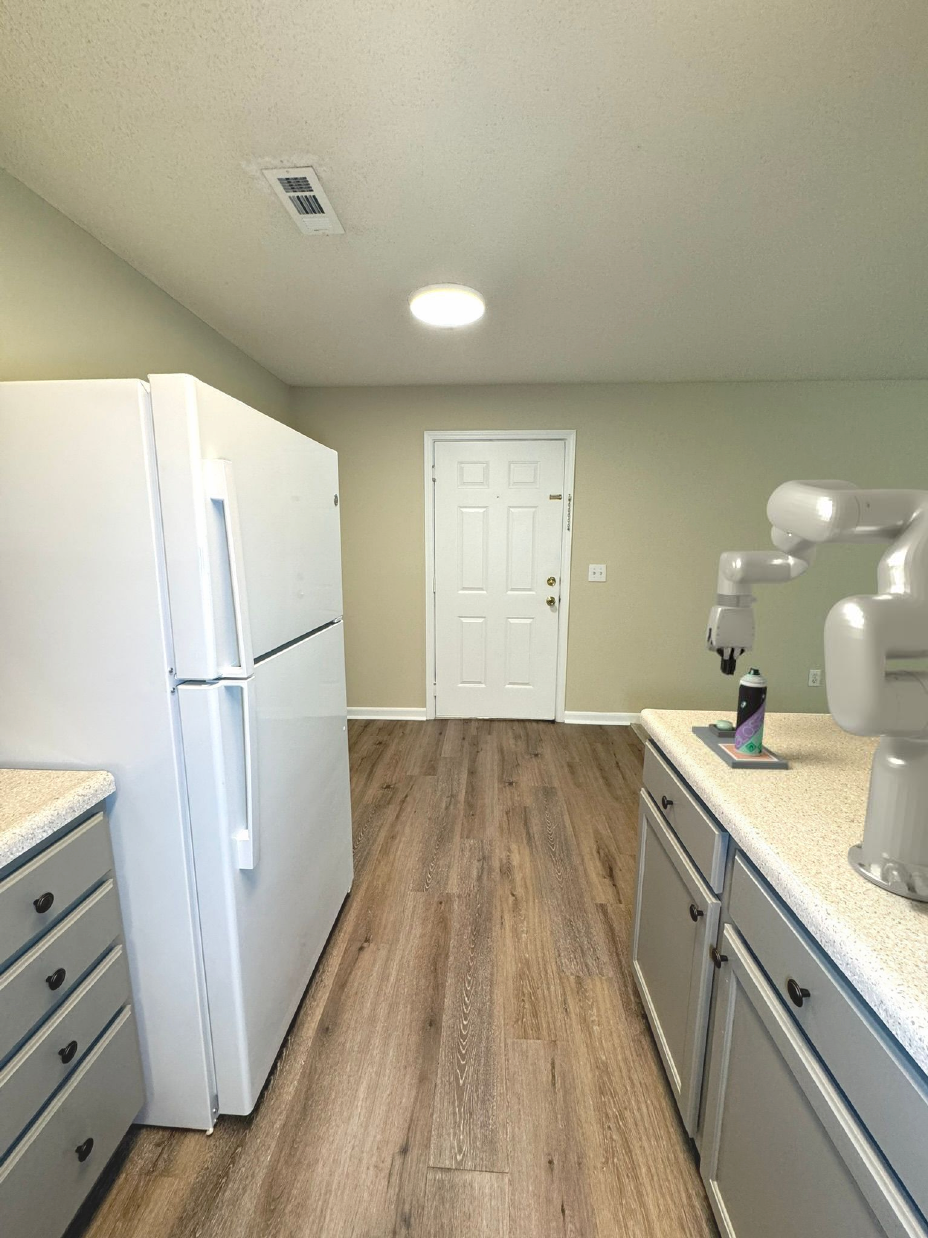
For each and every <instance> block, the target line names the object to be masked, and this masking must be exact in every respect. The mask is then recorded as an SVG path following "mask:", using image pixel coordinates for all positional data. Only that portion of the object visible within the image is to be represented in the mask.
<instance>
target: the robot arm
mask: <svg viewBox="0 0 928 1238" xmlns="http://www.w3.org/2000/svg"><path fill="white" fill-rule="evenodd" d="M766 516H767V518H768V520H769V522H770V523H771V525H772V527H771V531H770V537H771V541H772V543H773V544H774V546H775V547H776V548H777V549H778V550H740V551H739V550H732V551H731V550H729V551H728V550H727V551H723V552H722V553H721V554H720V556H719V562H718V563H719V564H718V574H717V575H718V577H717V587H716V588H717V589H716V590H717V591H716V601H715V605H713V606H712V607H711V610H710V613H709V617H708V620H707V621H708V622H707V627H706V635H705V642H706V643H707V645H706V649H707V650H708V651H710V652H712V653H713V652H714V653H717V655H718V656H719V657H720V669H719V670H720V671H721V673H722V674H724V675H725V676H735V671H736V668H737V660H739V659H740V656H742V655H743V654H744V653H748V652H752V651H753V649H754V648H753V645H754V643H755V637H756V636H755V635H756V624H755V623H756V620H755V613H754V611H755V610H754V607H752V605H753V603H756V602H757V597H756V596H753V585H757V584H759V585H761V584H762V585H766V584H767V585H780V584H786V583H789V582H793V581H794V580H795V579H796V580H797V579H798V578H799V577H801V576H802V575H804V574H805V573H806V572H807V571H809V570H810V569H811V567H812V566H813V564H814V561H815V559H816V555H817V547H818V546H819V545H820V544H821V545H828V546H829V545H832V546H833V545H834V546H838V545H839V546H840V545H844V546H845V545H878V544H879V545H882V544H883V545H889V546H888V548H887V549H886V550H885V551H884V554H883V555H882V557H881V558H880V560H879V562H878V565H877V570H876V576H877V594H876V593H875V594H869V593H868V594H856V595H852V596H851V595H849V596H847V597H844V598H842V599H840V600H839V601H838V602H836V603H835V604H834V605H833V606H832V607H831V609H830V610H829V612H828V614H827V617H826V619H825V621H824V625H823V626H824V627H823V652H824V668H825V671H824V672H825V689H826V700H827V705H828V706H827V707H828V710H829V713H830V715H831V716H830V717H831V718H832V719H833V721H834V723H835V725H837V726H838V727H839V728H840V729H841V730H842V731H844V732H845V733H847V734H850V735H851V736H856V737H862V738H863V737H864V738H865V737H867V738H881V739H880V740H879V742H878V743H877V746H876V748H875V750H874V752H873V757H872V761H871V762H872V763H871V764H872V765H871V771H870V779H869V785H868V794H867V802H866V809H865V810H866V811H865V819H864V826H863V835H862V842H860V843H857V844H853V845H851V846H850V847H849V849H848V851H847V861H848V863H849V865H850V866H851V867H852V868H853V870H854V871H856V873H858V874H859V875H861V876H862V877H863V878H864V879H866V880H868V882H870V883H873V884H874V885H875V886H878V887H879V888H881V889H884V890H887V892H888V891H889V892H891V893H894V894H896V895H899V896H902V897H905V898H908V899H912V900H916V901H921V902H926V903H928V669H925V668H924V669H923V668H922V669H916V668H915V669H912V668H911V669H909V668H908V669H904V668H903V669H902V668H901V669H886V663H887V661H919V660H921V661H922V660H928V490H925V489H911V488H897V489H896V488H880V489H879V488H877V489H861V488H860V487H859V486H858V485H856V483H855V484H854V483H853V482H850V481H848V480H843V479H792V480H789V481H786V482H783V483H782V484H781V485H779V486H778V487H777V488H776V489H774V490H773V491H772V493H771V495H770V496H769V499H768V501H767V504H766ZM729 648H730V649H729Z"/></svg>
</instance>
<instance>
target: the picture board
mask: <svg viewBox="0 0 928 1238" xmlns="http://www.w3.org/2000/svg"><path fill="white" fill-rule="evenodd" d="M716 727H717V723H709V724H708V726H700V725H699V726H698V725H697V726H696V725H695V726H694V725H693V726H691V733H692V734H694V735H695V734H696V735H695V736H696V737H697V738H698V737H699V738H698V739H699V740H700V739H701V740H702V741H703V742H704V745H706V746H707V748H709V749H710V751H712V752H713V753H714V752H715V753H714V754H715V755H717V757H719V758H720V759H721V760H722V761H723V762H724V763H725V764H726V765H727V766H728V767H729V768H731V769H734V770H735V769H737V770H738V769H739V770H740V769H741V770H743V769H747V770H749V769H750V770H788V763H789V762H787V761H786V760H784V759H783V758H782V757H780V756H779V755H777V754H776V753H774V752H773V751H772V750H771V749H770V748H768V747H767V746H765V745H764V744H762V751H761V756H759V757H748V756H744V755H741V754H738V753H737V752H735V750H734V746H735V734H736V726H733V727H732V731H722V730H719V729H717V728H716ZM701 740H700V741H701ZM702 741H701V742H702ZM703 742H702V743H703Z"/></svg>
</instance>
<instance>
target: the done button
mask: <svg viewBox="0 0 928 1238" xmlns="http://www.w3.org/2000/svg"><path fill="white" fill-rule="evenodd" d="M716 724H717V727H716V728H717V729H719V730H722V731H732V727H734V726H733V725H734V724H733V722H731V721H730V720H724V719H718V720H717V721H716Z"/></svg>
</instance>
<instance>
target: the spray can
mask: <svg viewBox="0 0 928 1238" xmlns="http://www.w3.org/2000/svg"><path fill="white" fill-rule="evenodd" d="M767 682H768V680H767V678H764V677H763V676H762V674H761V672H760V669H756V668H754V667H750V670H749V671H748V672H747V673H746V674H745V675H743V676H740V678H739V685H738V695H737V696H738V698H737V710H736V712H737V713H736V722H735V727H736V734H735V746H734V750H735V752H737V753H738V754H741V755H744V756H748V757H759V756H761V751H762V745H763V740H764V737H763V735H764V728H765V727H764V726H765V717H766V716H765V715H766V705H767V704H766V703H767V693H768V683H767Z"/></svg>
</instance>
